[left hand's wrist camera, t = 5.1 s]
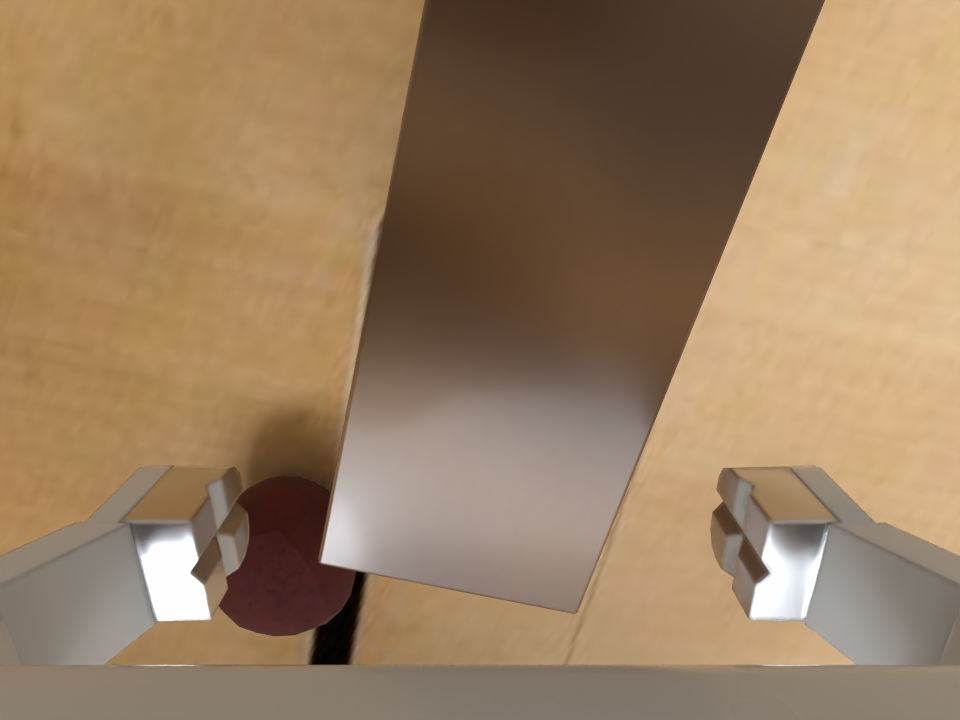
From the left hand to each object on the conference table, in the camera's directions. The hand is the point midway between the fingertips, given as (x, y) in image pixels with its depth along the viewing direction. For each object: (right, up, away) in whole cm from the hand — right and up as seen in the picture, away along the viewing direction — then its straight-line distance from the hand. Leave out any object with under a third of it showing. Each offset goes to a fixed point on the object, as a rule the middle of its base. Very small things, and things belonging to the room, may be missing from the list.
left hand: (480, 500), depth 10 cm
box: (+2, +11, +9) cm, 15 cm away
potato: (-10, -6, +23) cm, 26 cm away
